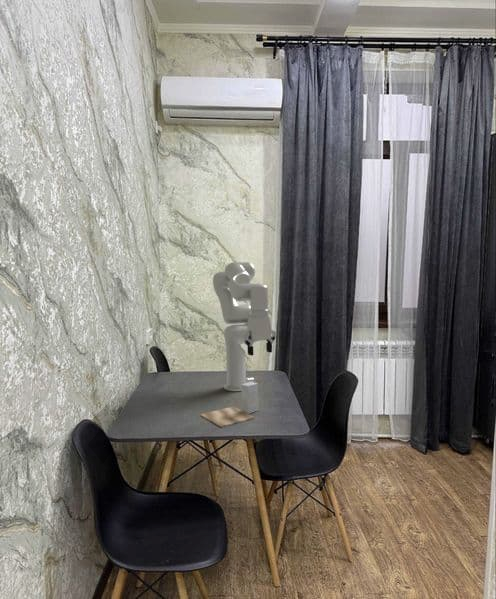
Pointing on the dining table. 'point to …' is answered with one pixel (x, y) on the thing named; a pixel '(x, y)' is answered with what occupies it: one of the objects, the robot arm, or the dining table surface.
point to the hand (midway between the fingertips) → (260, 353)
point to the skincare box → (249, 397)
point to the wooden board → (227, 416)
